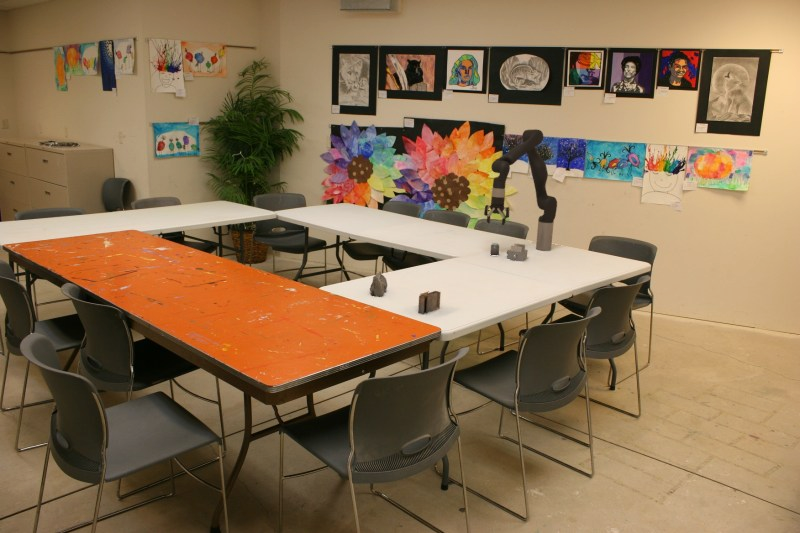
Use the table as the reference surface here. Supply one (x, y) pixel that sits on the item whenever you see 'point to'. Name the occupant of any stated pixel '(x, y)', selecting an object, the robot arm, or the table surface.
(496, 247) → the pump
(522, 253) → the motor
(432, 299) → the brown flat block
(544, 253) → the table surface
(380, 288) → the mineral rock
